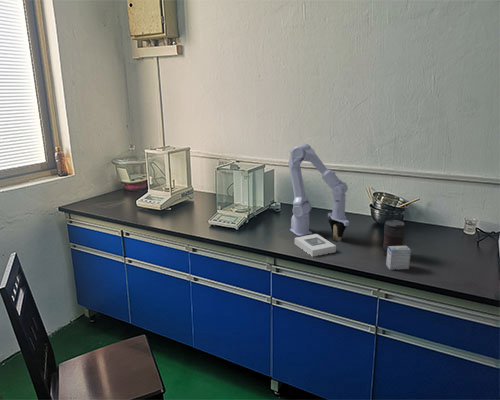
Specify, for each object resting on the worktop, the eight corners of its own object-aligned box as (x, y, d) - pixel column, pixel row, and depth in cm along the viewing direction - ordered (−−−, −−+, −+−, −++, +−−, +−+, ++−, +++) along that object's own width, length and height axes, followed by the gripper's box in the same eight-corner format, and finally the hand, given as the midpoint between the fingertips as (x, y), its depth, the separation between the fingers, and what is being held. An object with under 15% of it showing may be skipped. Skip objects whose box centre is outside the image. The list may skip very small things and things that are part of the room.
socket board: (294, 243, 188) (294, 237, 187) (316, 239, 192) (316, 233, 191) (312, 256, 174) (312, 249, 173) (335, 252, 178) (336, 245, 177)
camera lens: (378, 253, 176) (380, 221, 172) (393, 250, 179) (396, 218, 175) (390, 260, 169) (393, 227, 165) (405, 257, 172) (409, 224, 167)
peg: (331, 238, 193) (331, 224, 191) (338, 237, 195) (338, 223, 193) (335, 241, 190) (336, 227, 188) (343, 239, 191) (343, 226, 189)
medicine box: (404, 264, 165) (406, 245, 163) (409, 269, 161) (411, 249, 158) (385, 265, 165) (387, 245, 162) (389, 270, 161) (391, 250, 158)
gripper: (355, 211, 183) (353, 239, 187) (337, 203, 195) (335, 229, 199) (342, 213, 180) (340, 241, 184) (324, 204, 193) (323, 231, 197)
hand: (337, 235), depth 192 cm, fingers closed on peg, 4 cm apart
